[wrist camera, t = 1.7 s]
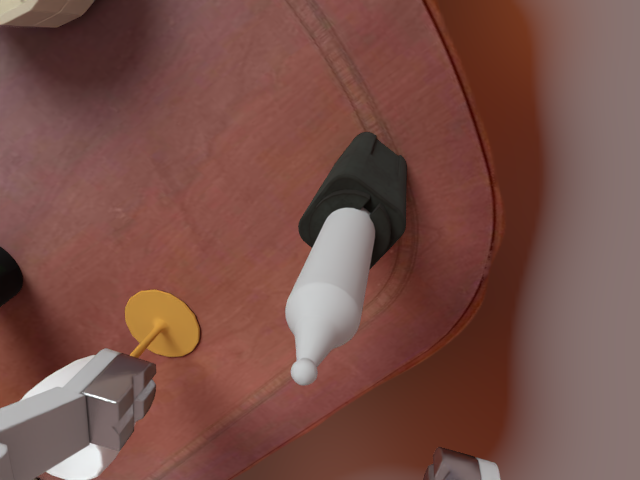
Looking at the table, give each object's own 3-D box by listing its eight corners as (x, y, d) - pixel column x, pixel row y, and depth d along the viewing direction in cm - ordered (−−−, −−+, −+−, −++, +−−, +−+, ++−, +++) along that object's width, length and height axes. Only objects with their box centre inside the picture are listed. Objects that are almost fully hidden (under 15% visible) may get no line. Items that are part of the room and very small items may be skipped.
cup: (151, 273, 44) (28, 382, 30) (216, 329, 46) (128, 457, 31) (112, 318, 48) (-14, 434, 34) (172, 368, 50) (77, 498, 35)
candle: (412, 164, 34) (421, 382, 12) (373, 209, 37) (319, 463, 14) (364, 125, 34) (278, 279, 11) (327, 173, 36) (196, 379, 14)
